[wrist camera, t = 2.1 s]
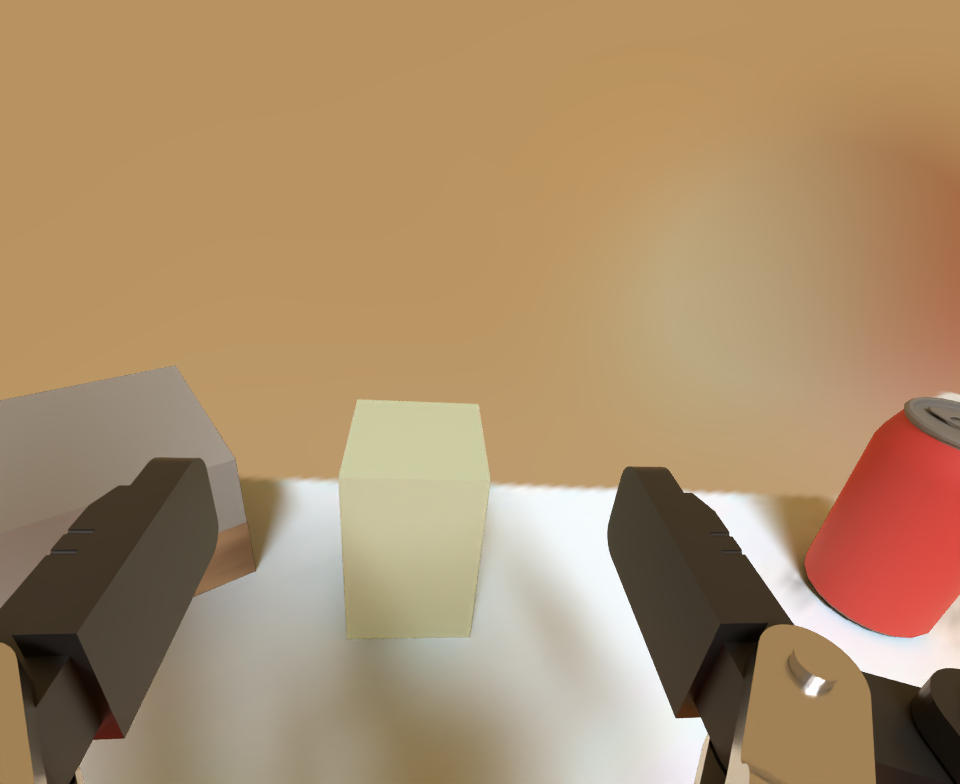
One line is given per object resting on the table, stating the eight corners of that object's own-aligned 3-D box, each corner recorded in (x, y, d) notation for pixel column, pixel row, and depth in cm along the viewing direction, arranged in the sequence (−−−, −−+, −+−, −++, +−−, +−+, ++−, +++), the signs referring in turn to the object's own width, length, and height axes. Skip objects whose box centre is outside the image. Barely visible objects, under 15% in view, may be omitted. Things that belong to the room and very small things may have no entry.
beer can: (841, 540, 34) (935, 384, 28) (952, 621, 29) (1095, 451, 23) (776, 568, 32) (866, 401, 26) (887, 662, 27) (1030, 481, 21)
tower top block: (-53, 638, 19) (-102, 565, 17) (-47, 481, 26) (-81, 416, 25) (246, 521, 26) (235, 458, 24) (187, 420, 33) (175, 365, 31)
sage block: (346, 639, 25) (338, 477, 20) (361, 545, 30) (357, 399, 25) (469, 637, 26) (490, 480, 21) (463, 546, 31) (478, 404, 26)
